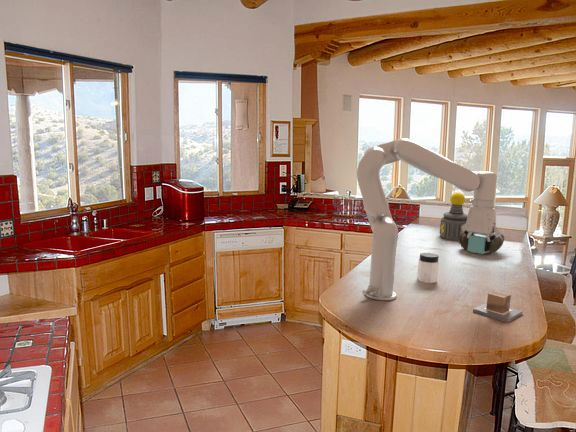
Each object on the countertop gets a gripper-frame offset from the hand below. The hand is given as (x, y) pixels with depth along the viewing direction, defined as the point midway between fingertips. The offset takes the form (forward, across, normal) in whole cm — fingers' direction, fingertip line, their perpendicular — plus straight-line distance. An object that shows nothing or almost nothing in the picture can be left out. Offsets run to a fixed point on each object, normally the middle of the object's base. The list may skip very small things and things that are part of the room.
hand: (478, 249), depth 188 cm
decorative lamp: (+22, -67, +114) cm, 134 cm away
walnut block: (+20, +12, -5) cm, 24 cm away
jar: (+22, -27, +11) cm, 37 cm away
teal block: (+1, 0, 0) cm, 1 cm away
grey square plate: (+22, +12, -5) cm, 25 cm away
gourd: (+22, -38, +88) cm, 99 cm away
